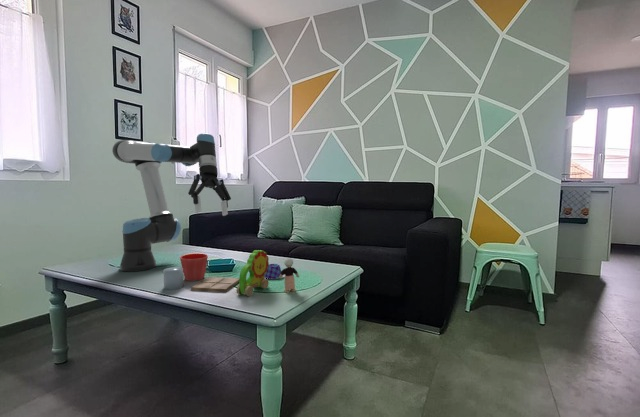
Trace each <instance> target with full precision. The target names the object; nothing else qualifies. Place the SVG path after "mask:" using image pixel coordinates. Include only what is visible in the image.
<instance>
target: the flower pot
mask: <svg viewBox="0 0 640 417" xmlns="http://www.w3.org/2000/svg"><path fill="white" fill-rule="evenodd" d="M208 256H209V255H208V254H205V253H188V254H184V255H181V256H180V258H179V259H180V264H181V268H183V278H184V280H185V281H189V282H194V281H202V280H204V279H205V276H206V269H207V264H208Z"/></svg>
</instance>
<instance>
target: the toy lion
mask: <svg viewBox="0 0 640 417" xmlns="http://www.w3.org/2000/svg"><path fill="white" fill-rule="evenodd" d="M269 258H270V257H269V256H268V254H267V252H266V251H264V250H261V249H260V250H259V249H258V250H257V249H255V250H253V251H252V252H251V253H250V254H249V257H248V259H247V262H246V263H245V264H244V265H243V266H242V268H241V270H240V273H239V277H238V278H239V283H238V285H237V286H236V295H239V296H240V295H245V296H246V297H251V296H252V295H253V293H254V288H262V289H264V290H265V289H267V288H268V287H269V283H270V282H269V279H268V278H267V279H265V273H266V272H267V268H268V266H269V264H270V263H269V261H270V260H269ZM248 272H249V276H248V278H247V275H248Z"/></svg>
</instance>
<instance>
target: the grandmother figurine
mask: <svg viewBox="0 0 640 417" xmlns="http://www.w3.org/2000/svg"><path fill="white" fill-rule="evenodd" d="M284 265H285V267H286V268H283V269H281V273H280V276H279V279H280V280H281V279H283V278H282V276H283V275H285V277H284V291H283V292H284V293H287V294H288V293H290V292H291V293H295V292H296V290H297V289H296V284H295V283H296V282H295V276H296V278H299V277H300V275H299V272H298V271H297V269H296V268H295V267H292V266H293V265H294V260H293V259H292V258H290V257H288V258H286V259H285V260H284ZM294 274H295V276H294Z"/></svg>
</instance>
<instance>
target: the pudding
mask: <svg viewBox="0 0 640 417" xmlns="http://www.w3.org/2000/svg"><path fill="white" fill-rule="evenodd" d="M281 271H282V268H281V266H280V264H278V263H269V266H268V268H267V272H266V273H265V279H266V278H267V279H268V278H269V279H268V280H278V279H280V278H279V276H280V273H281ZM270 278H271V279H270ZM283 278H285V275H283V276H282V278H281V279H283Z"/></svg>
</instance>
